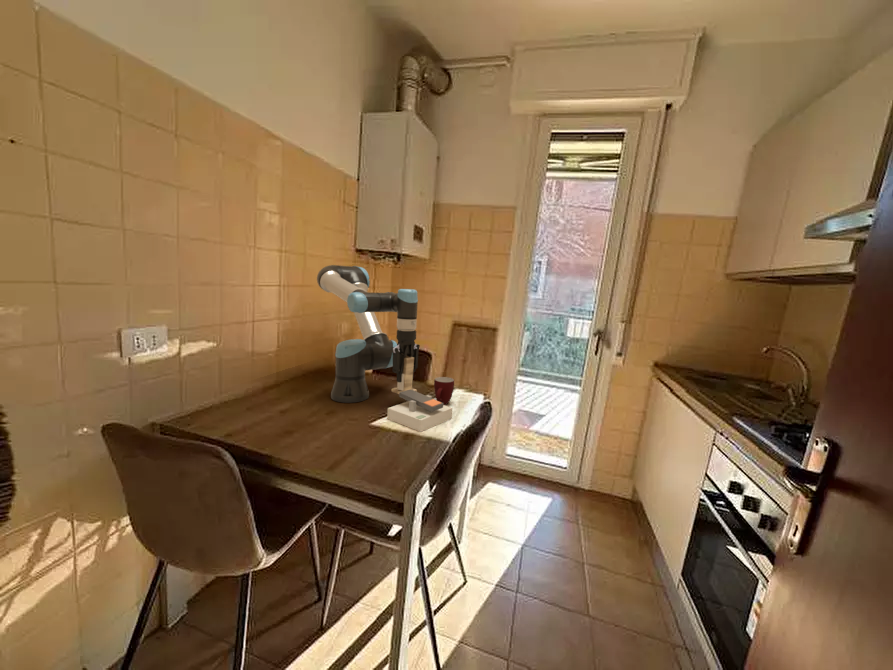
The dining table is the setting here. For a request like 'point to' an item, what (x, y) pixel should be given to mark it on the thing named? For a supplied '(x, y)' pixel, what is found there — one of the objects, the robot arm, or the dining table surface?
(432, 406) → the rocker
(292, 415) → the dining table surface
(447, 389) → the mug
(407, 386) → the wooden post with base
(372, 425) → the dining table surface
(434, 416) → the switch box
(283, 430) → the dining table surface
